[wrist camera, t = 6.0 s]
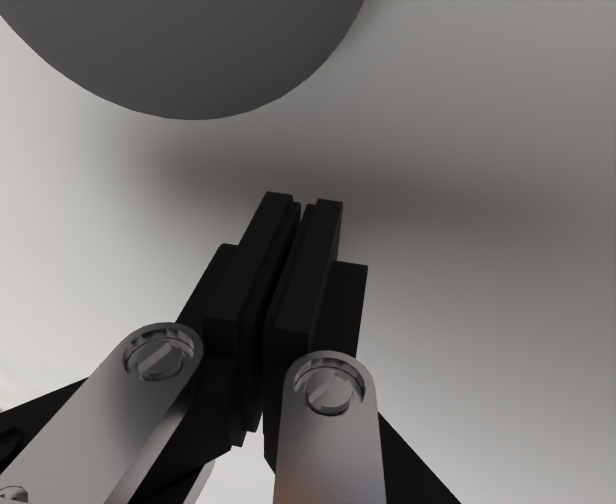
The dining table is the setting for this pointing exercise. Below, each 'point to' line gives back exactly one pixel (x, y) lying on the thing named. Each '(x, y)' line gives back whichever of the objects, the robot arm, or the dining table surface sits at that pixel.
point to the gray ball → (184, 49)
